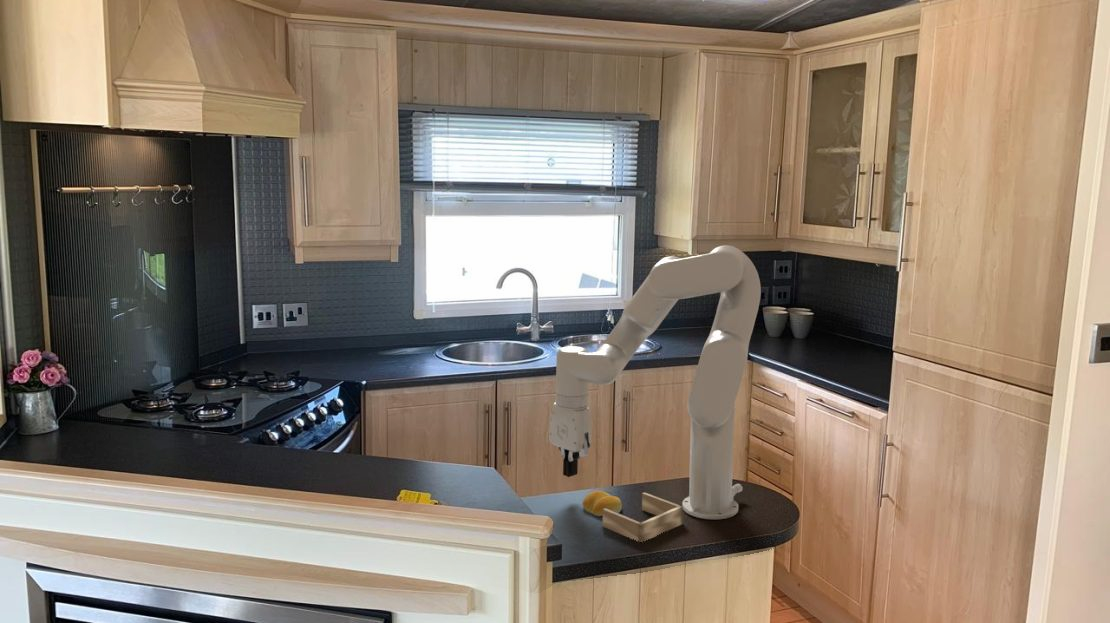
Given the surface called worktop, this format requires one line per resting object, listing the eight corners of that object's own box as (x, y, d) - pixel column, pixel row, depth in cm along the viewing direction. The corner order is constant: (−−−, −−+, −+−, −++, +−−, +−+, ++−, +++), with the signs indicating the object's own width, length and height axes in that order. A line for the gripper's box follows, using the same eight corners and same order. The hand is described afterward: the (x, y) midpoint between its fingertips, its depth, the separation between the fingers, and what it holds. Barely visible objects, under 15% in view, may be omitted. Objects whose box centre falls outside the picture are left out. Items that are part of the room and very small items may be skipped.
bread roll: (604, 521, 192) (604, 504, 191) (577, 509, 198) (576, 492, 198) (630, 511, 197) (630, 494, 196) (603, 499, 204) (603, 483, 203)
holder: (644, 508, 197) (644, 492, 197) (682, 523, 189) (683, 506, 189) (602, 526, 188) (602, 509, 188) (641, 543, 180) (641, 525, 180)
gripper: (538, 395, 203) (537, 469, 207) (582, 410, 193) (580, 488, 196) (561, 390, 208) (560, 462, 212) (606, 404, 198) (604, 480, 201)
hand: (570, 474), depth 204 cm, fingers closed
